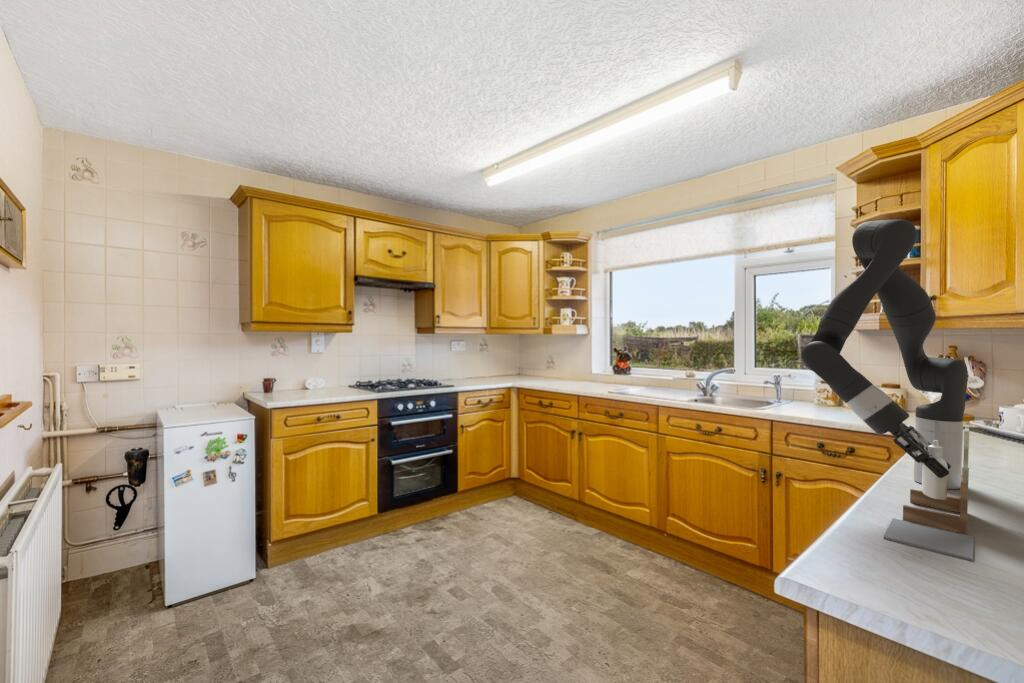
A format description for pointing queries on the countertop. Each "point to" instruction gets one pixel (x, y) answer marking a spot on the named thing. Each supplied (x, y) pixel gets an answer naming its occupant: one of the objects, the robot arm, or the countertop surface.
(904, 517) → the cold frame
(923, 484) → the eye dropper bottle
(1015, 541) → the countertop surface
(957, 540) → the slate mat
